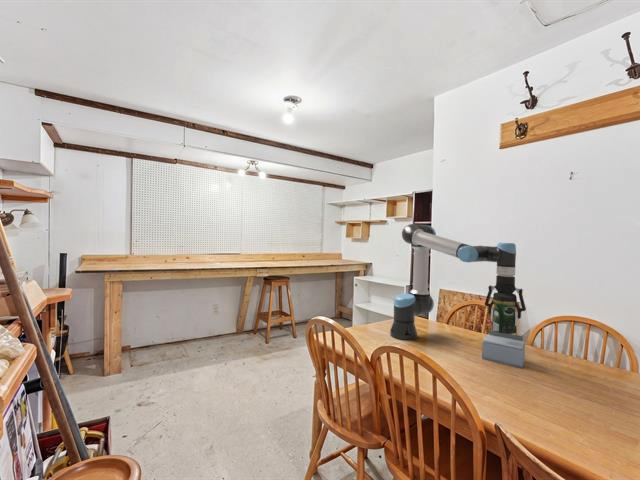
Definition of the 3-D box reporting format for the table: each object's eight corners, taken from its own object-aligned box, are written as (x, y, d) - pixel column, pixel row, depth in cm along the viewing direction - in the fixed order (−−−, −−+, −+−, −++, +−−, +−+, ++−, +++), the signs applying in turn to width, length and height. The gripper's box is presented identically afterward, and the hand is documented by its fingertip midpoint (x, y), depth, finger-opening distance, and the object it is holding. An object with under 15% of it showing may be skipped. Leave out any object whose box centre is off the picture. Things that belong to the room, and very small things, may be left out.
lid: (483, 341, 146) (483, 335, 146) (487, 335, 155) (487, 329, 155) (522, 349, 136) (522, 342, 136) (524, 342, 145) (524, 336, 145)
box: (481, 358, 146) (482, 342, 145) (486, 351, 155) (487, 335, 155) (522, 368, 136) (522, 350, 136) (524, 360, 145) (525, 343, 145)
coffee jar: (508, 329, 148) (510, 291, 148) (519, 334, 140) (520, 294, 140) (488, 329, 148) (490, 290, 148) (498, 334, 140) (499, 294, 140)
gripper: (478, 274, 148) (476, 320, 148) (533, 278, 134) (531, 329, 135) (481, 272, 154) (479, 317, 154) (534, 277, 140) (532, 326, 141)
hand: (504, 323), depth 144 cm, fingers closed on coffee jar, 9 cm apart
